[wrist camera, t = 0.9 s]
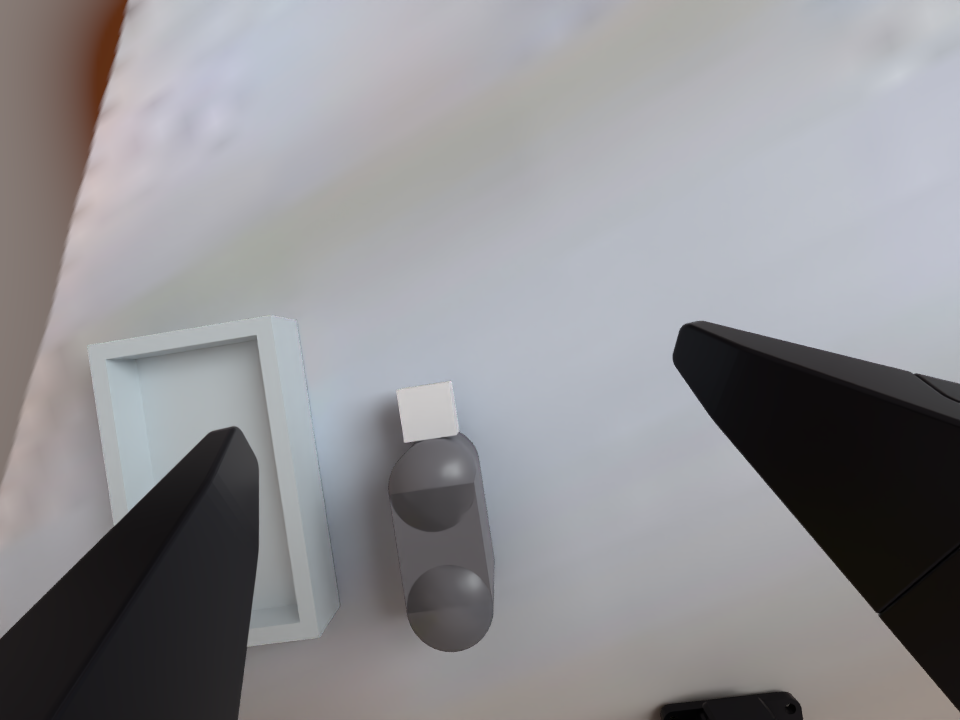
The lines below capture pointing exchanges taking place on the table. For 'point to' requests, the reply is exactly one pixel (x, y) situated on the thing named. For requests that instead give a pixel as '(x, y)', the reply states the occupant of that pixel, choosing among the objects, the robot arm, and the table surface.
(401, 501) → the plug
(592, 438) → the table surface
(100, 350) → the dock tray
